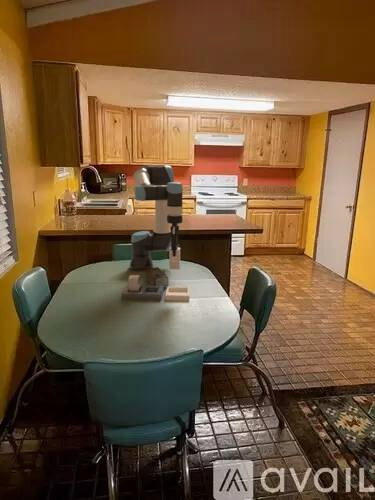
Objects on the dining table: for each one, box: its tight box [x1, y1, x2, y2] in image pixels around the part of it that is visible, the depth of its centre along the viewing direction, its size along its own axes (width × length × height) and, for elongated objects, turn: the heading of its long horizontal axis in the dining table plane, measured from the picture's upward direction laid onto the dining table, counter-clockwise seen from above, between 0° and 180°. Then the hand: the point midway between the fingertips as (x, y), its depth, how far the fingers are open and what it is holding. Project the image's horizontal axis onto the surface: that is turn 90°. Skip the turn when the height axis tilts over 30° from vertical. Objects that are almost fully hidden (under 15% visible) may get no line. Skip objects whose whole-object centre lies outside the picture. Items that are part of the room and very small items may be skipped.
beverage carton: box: [145, 266, 170, 288], centre depth 194 cm, size 8×19×7 cm, turn 22°
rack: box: [121, 284, 165, 301], centre depth 176 cm, size 12×20×3 cm, turn 89°
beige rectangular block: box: [128, 274, 141, 292], centre depth 175 cm, size 5×5×10 cm
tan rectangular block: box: [168, 246, 181, 270], centre depth 171 cm, size 5×5×10 cm
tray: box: [164, 286, 191, 301], centre depth 176 cm, size 12×12×3 cm
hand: (174, 260), depth 171 cm, fingers closed on tan rectangular block, 5 cm apart
